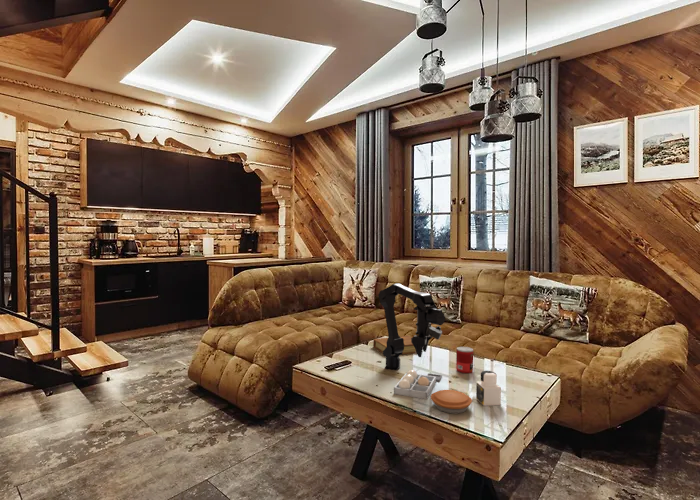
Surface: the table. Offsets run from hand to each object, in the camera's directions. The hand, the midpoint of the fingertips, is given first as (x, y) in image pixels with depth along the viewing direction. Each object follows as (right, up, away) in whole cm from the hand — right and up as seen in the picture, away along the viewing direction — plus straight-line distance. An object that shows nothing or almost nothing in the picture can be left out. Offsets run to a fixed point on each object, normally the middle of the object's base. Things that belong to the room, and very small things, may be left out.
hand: (422, 354), depth 182 cm
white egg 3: (-10, -9, -16) cm, 21 cm away
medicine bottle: (+22, -13, -25) cm, 35 cm away
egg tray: (-5, -12, -11) cm, 17 cm away
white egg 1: (-5, -9, -3) cm, 11 cm away
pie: (+5, -13, -30) cm, 33 cm away
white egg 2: (-8, -9, -9) cm, 15 cm away
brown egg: (-2, -9, -12) cm, 15 cm away
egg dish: (+6, -12, +1) cm, 13 cm away
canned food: (+23, -12, +12) cm, 29 cm away
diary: (-6, -11, +49) cm, 51 cm away
